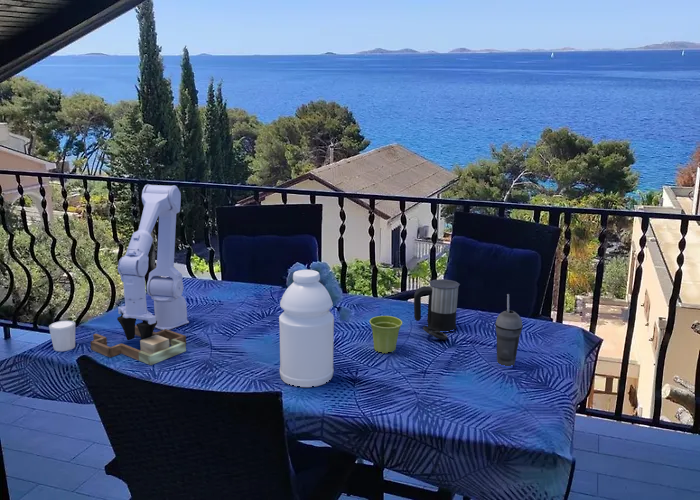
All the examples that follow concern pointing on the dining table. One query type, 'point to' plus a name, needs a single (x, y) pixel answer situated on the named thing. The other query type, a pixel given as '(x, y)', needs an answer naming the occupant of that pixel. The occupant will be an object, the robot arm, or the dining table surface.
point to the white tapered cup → (63, 335)
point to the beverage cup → (508, 336)
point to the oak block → (154, 344)
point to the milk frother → (438, 306)
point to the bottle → (306, 332)
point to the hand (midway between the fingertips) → (138, 342)
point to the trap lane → (174, 340)
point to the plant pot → (385, 332)
